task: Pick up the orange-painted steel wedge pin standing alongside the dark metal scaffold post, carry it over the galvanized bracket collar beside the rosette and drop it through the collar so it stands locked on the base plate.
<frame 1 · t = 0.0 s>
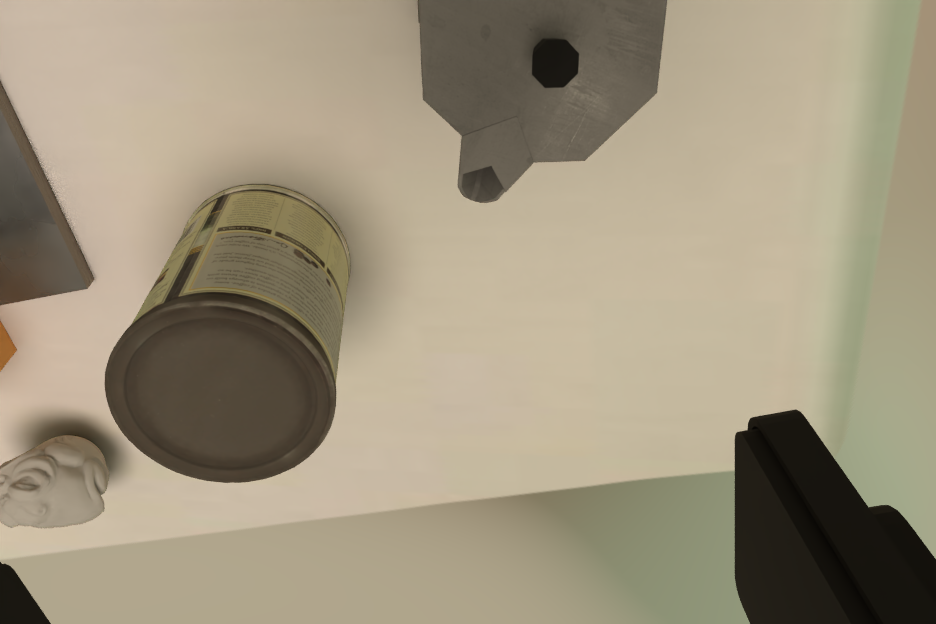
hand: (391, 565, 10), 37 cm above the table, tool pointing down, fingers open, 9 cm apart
plaster head sculpture: (75, 445, 55), on the table
coffee can: (268, 259, 49), on the table
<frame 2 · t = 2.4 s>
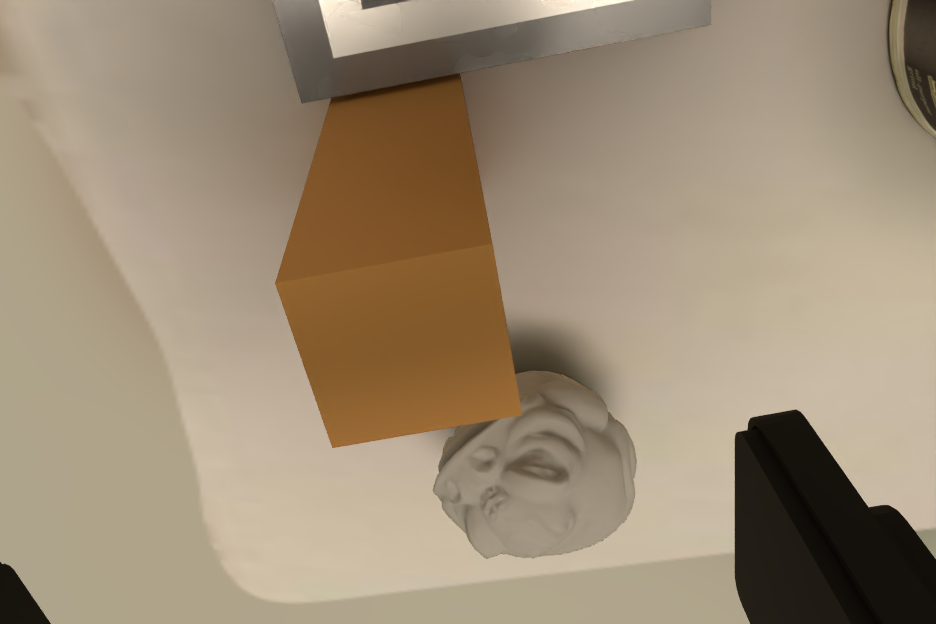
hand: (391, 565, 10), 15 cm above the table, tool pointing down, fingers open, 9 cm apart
plaster head sculpture: (521, 392, 28), on the table
wedge pin: (409, 141, 23), on the table
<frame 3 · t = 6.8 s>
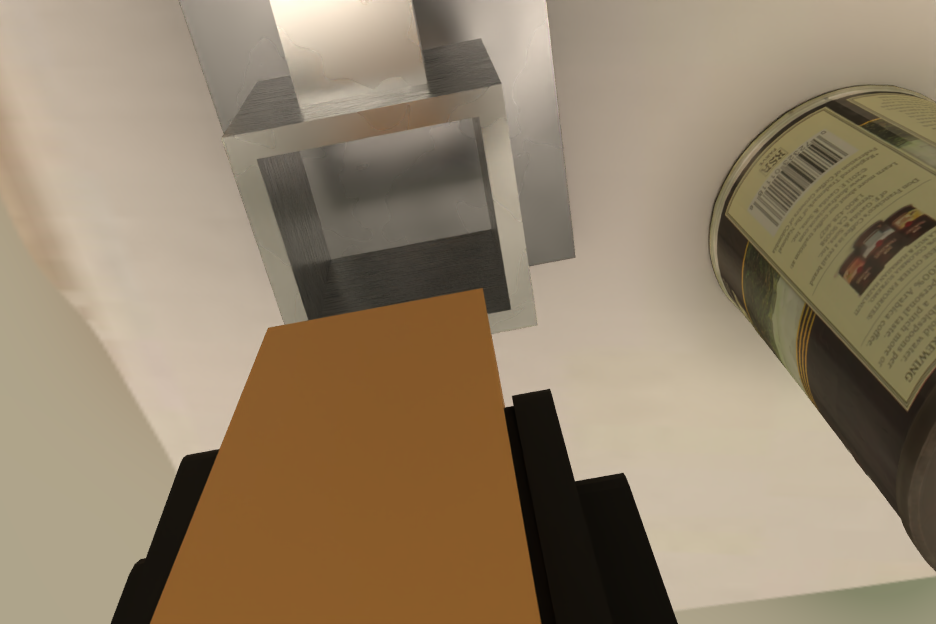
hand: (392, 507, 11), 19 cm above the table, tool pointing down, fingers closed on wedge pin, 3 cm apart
coffee can: (837, 213, 31), on the table
wedge pin: (398, 399, 14), point 16 cm above the table, touching gripper
when the fingers open (11 cm above the table, at t = 9.0 s): wedge pin drops 7 cm, resting on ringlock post.
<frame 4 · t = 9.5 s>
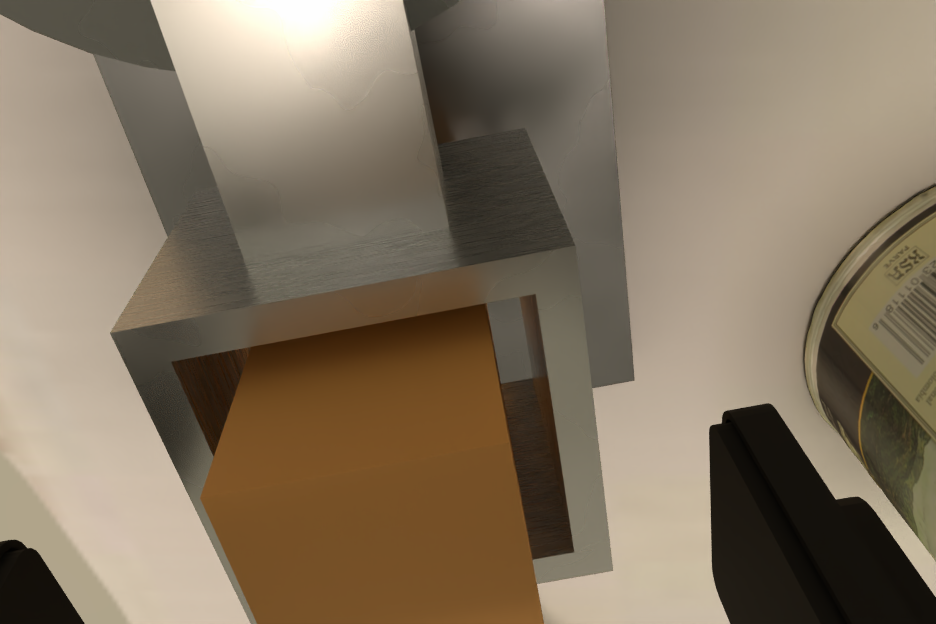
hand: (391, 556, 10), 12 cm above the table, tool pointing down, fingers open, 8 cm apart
wedge pin: (399, 232, 20), point 1 cm above the table, touching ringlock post
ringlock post: (350, 5, 18), on the table
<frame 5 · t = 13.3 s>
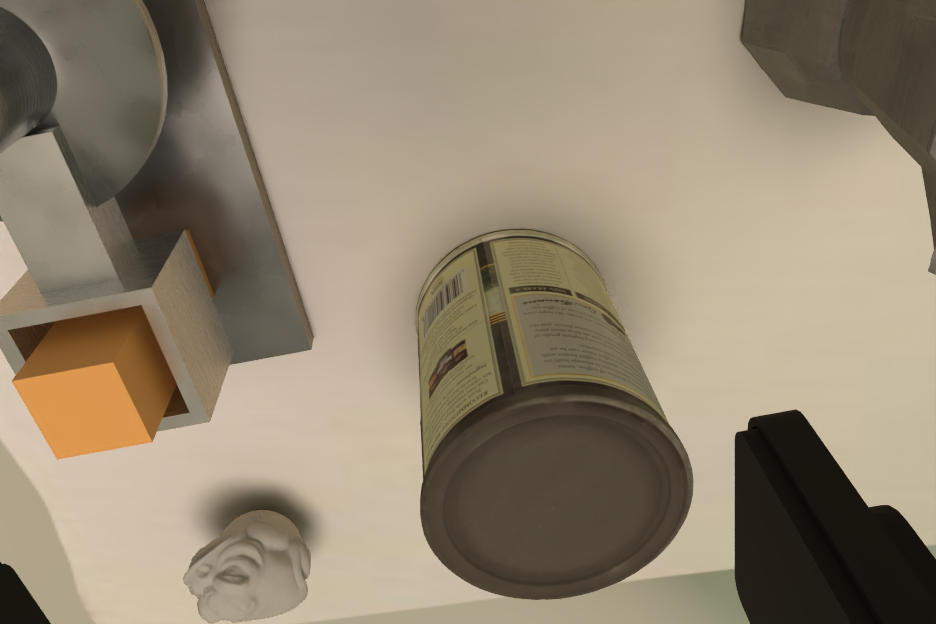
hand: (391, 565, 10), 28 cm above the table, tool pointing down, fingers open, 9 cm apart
plaster head sculpture: (262, 518, 48), on the table
coffee can: (513, 314, 42), on the table
wedge pin: (164, 270, 38), point 1 cm above the table, touching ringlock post
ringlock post: (129, 158, 36), on the table
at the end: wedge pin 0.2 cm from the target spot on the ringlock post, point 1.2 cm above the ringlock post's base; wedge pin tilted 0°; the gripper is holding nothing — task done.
